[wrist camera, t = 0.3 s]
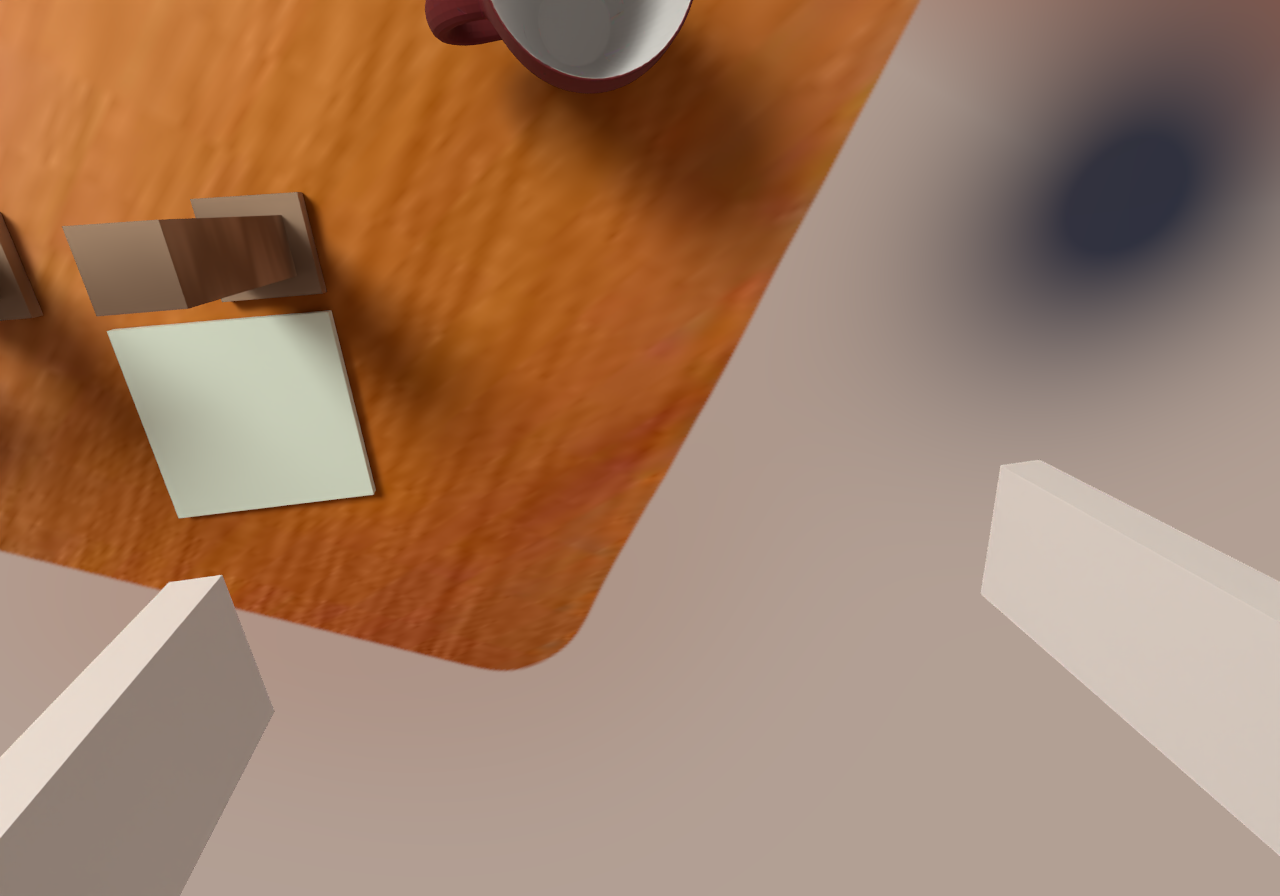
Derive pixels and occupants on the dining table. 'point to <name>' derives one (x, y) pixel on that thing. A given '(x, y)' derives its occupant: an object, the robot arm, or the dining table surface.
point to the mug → (567, 35)
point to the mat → (247, 411)
